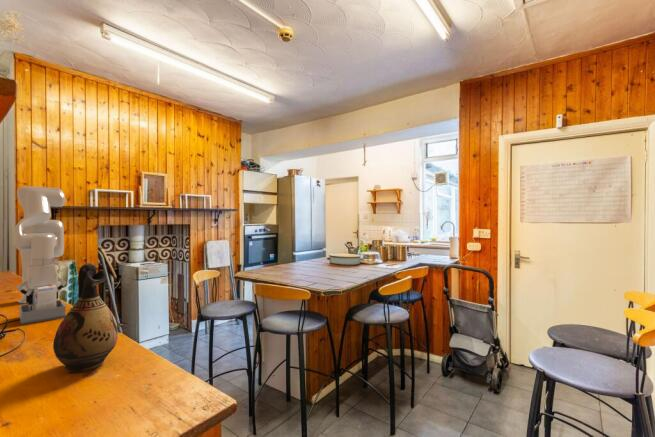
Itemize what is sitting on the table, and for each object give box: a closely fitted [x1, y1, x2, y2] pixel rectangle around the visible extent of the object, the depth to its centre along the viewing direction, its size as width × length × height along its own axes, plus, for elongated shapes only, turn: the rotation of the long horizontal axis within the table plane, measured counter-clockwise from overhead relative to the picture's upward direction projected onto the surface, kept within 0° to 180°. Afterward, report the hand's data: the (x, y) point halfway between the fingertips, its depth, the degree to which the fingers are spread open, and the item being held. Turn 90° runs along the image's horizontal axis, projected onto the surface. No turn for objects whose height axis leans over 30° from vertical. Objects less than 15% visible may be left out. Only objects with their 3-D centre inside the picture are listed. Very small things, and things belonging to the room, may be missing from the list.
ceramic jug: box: [52, 262, 119, 374], centre depth 95 cm, size 17×15×30 cm
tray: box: [18, 299, 66, 326], centre depth 140 cm, size 15×14×5 cm
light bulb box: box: [29, 285, 58, 311], centre depth 140 cm, size 11×7×11 cm, turn 60°
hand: (42, 302), depth 140 cm, fingers closed on light bulb box, 7 cm apart
